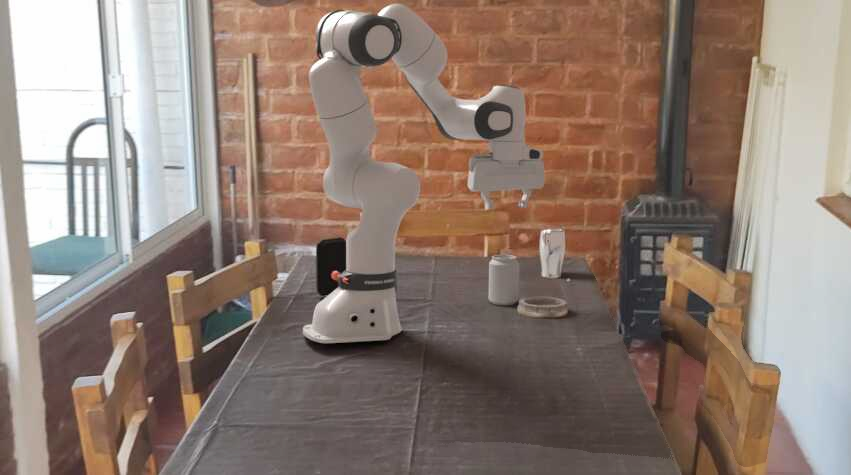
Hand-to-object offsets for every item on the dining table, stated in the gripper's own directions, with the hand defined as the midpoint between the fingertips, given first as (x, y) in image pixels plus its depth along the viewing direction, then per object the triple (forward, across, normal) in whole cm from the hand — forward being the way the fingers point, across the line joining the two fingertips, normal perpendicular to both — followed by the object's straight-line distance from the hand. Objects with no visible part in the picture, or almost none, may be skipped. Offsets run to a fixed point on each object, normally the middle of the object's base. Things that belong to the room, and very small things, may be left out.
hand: (506, 208), depth 224 cm
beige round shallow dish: (+24, +4, -12) cm, 27 cm away
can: (+24, 0, 0) cm, 24 cm away
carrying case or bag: (+24, -37, +25) cm, 51 cm away
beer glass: (+25, +23, +16) cm, 37 cm away
